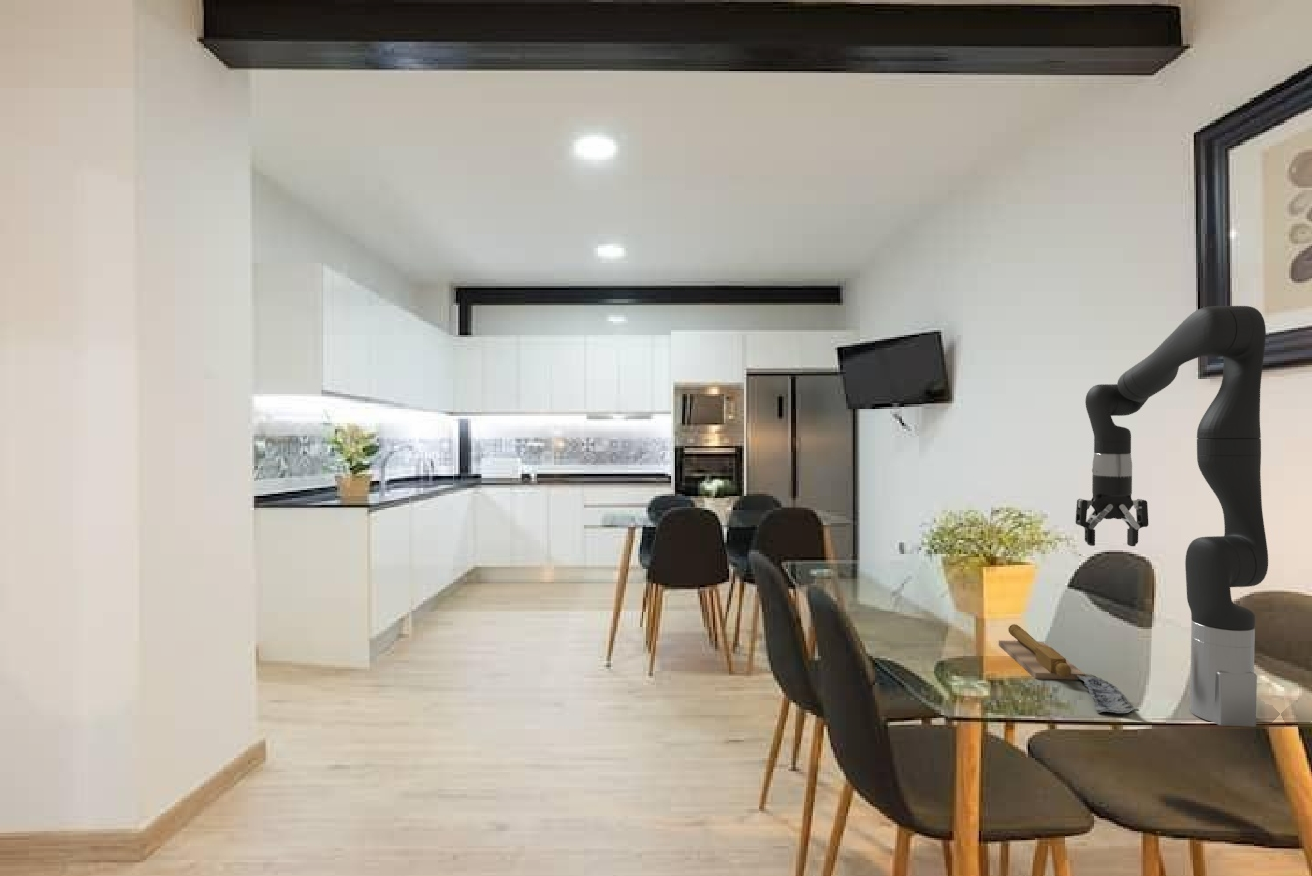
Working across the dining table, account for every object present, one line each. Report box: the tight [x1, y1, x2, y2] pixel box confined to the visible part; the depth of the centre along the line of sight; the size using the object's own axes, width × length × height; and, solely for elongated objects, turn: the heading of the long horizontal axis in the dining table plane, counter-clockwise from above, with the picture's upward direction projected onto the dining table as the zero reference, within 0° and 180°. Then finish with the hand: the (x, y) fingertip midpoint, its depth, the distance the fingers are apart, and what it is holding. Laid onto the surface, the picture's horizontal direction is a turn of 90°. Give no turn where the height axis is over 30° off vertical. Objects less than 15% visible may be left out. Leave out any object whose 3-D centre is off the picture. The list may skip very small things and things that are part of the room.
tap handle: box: [1008, 623, 1071, 677], centre depth 165 cm, size 3×3×30 cm
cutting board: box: [998, 639, 1086, 681], centre depth 164 cm, size 22×10×1 cm, turn 173°
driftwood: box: [1077, 673, 1140, 714], centre depth 144 cm, size 21×7×2 cm, turn 162°
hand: (1111, 545), depth 164 cm, fingers open, 8 cm apart
